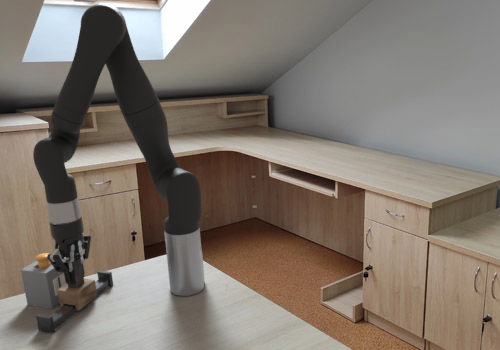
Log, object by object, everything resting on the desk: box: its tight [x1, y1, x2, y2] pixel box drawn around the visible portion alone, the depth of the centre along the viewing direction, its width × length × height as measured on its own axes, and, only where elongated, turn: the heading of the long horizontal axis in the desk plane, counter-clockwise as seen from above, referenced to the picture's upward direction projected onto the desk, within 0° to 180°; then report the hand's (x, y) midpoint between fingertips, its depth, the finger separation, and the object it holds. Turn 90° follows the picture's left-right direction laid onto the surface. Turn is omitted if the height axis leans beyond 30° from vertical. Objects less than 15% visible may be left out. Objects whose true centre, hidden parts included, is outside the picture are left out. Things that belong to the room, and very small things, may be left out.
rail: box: [35, 270, 114, 334], centre depth 122 cm, size 24×4×4 cm, turn 160°
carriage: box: [57, 257, 97, 312], centre depth 121 cm, size 7×6×12 cm
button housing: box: [20, 260, 67, 310], centre depth 125 cm, size 8×9×10 cm
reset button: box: [35, 252, 51, 269], centre depth 124 cm, size 4×4×6 cm
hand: (75, 280), depth 121 cm, fingers closed on carriage, 3 cm apart
